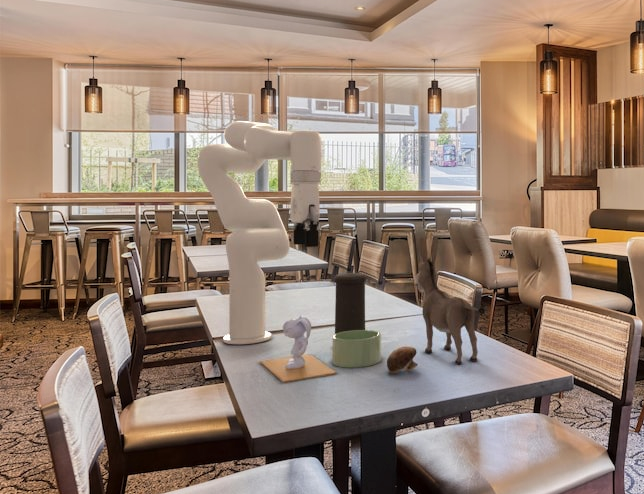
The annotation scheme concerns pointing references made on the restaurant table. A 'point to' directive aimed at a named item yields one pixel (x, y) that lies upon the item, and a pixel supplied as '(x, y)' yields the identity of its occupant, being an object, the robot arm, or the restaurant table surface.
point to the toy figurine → (297, 340)
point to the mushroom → (401, 359)
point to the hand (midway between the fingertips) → (305, 245)
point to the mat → (308, 371)
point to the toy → (444, 307)
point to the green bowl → (356, 348)
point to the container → (350, 302)
